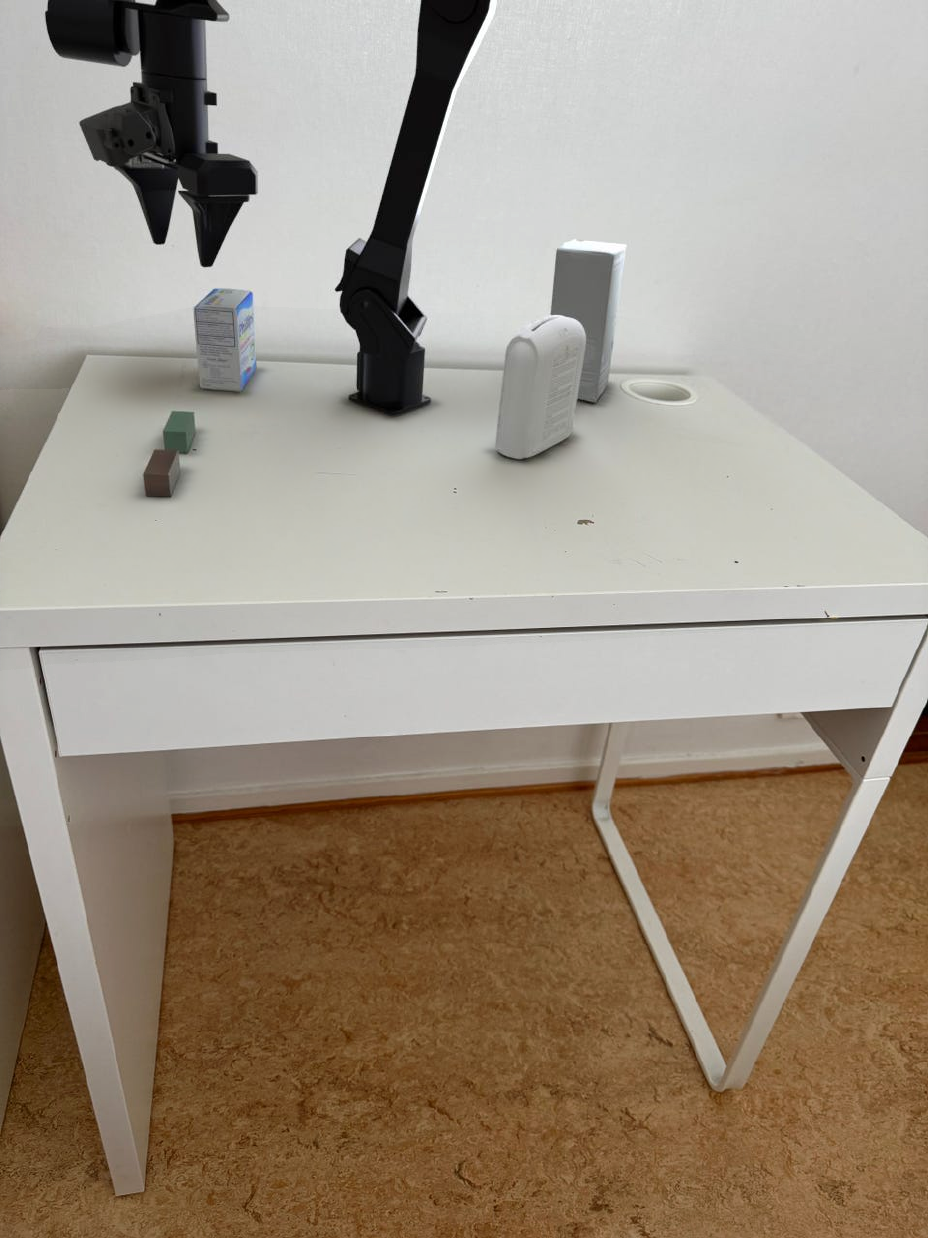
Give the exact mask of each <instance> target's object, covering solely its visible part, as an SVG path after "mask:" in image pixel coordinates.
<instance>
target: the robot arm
mask: <svg viewBox="0 0 928 1238" xmlns="http://www.w3.org/2000/svg"><path fill="white" fill-rule="evenodd" d="M154 3H155V4H152V3H146V2H140V1H139V2H138V1H136V0H47V7H46V8H47V10H45V12H44V18H45V19H44V20H45V25H46V26H45V27H46V31H47V35H48V38H49V42H50V44H51V46H52V48H53V50H54V51H55V53H56V54H57V55H58V56H59V57H61V58H63V59H67V60H75V61H82V62H87V63H88V62H89V63H95V64H102V65H109V66H115V67H122V68H125V67H127V66H129V64H130V63H131V62H132V58H133V56H134V57H135V56H138V55H139V58H140V59H139V60H140V70H141V71H140V74H141V82H140V81H139V82H138V81H132V86H130V88H129V89H130V90H129V92H130V93H129V95H130V101H129V102H127V103H123V104H121V105H117V106H116V105H115V106H112V107H111V108H109V109H105V110H102V111H100V112H98V113H95V114H93V115H91V116H88V117H85V118H83V119H81V120H80V121H79V122H78V123H79V127H80V129H81V131H82V135H83V136H84V139H85V141H86V143H87V146H88V150H89V151H90V154H91V156H92V159H93V160H94V161H96V162H98V161H101V162H103V163H105V164H106V165H107V166H108V167H112V168H114V169H115V170H116V171H118V172H119V173H120V174H121V175H122V177H124V178H125V179H126V180H127V181H128V182H129V183H131V185H132V187H133V189H134V192H135V194H136V197H137V199H138V202H139V206H140V208H141V211H142V213H143V217H144V219H145V222H146V225H147V229H148V232H149V234H150V237H151V241H152V243H153V244H154V245H157V246H158V245H159V246H161V245H165V244H166V240H167V237H168V233H169V229H170V224H171V218H172V213H173V208H174V204H175V199H176V194H177V193H178V194H179V196H180V197H181V198H182V200H184V201H185V203H186V204H187V205H188V206H189V207H190V208H191V212H192V218H193V225H194V232H195V242H196V248H197V255H198V259H199V264H200V266H201V267H202V268H212V267H213V265H214V263H215V261H216V260H217V257H218V255H219V253H220V251H221V248H222V246H223V244H224V242H225V239H226V237H227V235H228V233H229V231H230V229H231V227H232V225H233V223H234V221H235V219H236V217H237V216H238V214H239V212H240V210H241V208H242V207H243V205H244V204H245V203H248V202H250V198H251V196H253V195H254V196H256V195H257V194H258V192H259V182H258V181H259V180H258V178H259V171H258V170H257V169H256V168H255V166H254V164H253V163H251V161H250V160H249V159H246V158H242V157H240V156H236V155H233V154H231V153H219V143H218V142H216V141H213V140H210V139H209V137H210V135H209V106H215V107H216V106H218V94H217V92H214V91H210V90H208V69H207V68H208V66H207V64H208V63H207V29H206V28H207V27H206V25H207V24H206V21H207V22H208V21H209V22H214V23H215V22H217V23H218V22H219V23H220V22H221V23H228V22H229V20H230V14H229V13H228V11H226V10H225V9H224V7H223V6H222V5H221V4H220V3H219V1H218V0H155V2H154ZM497 3H498V0H420V4H419V15H418V23H417V31H416V32H417V33H416V56H415V57H416V58H415V72H414V77H413V80H412V84H411V88H410V92H409V94H408V95H409V96H408V99H407V103H406V106H405V109H404V113H403V118H402V121H401V125H400V128H399V133H398V135H397V139H396V142H395V147H394V150H393V153H392V157H391V161H390V164H389V169H388V172H387V175H386V178H385V183H384V187H383V190H382V194H381V198H380V202H379V205H378V208H377V212H376V216H375V219H374V222H373V223H374V224H373V227H372V230H371V233H370V234H369V237H368V238H367V241H366V240H364V239H362V238H361V237H359V238H357V239H356V240H354V242H352V244H350V246H348V247H347V249H345V253H344V263H343V270H342V271H343V272H342V276H341V279H340V281H339V283H338V284H337V286H336V287H335V288H334V291H335V292H336V293H339V292H341V293H340V296H339V311H340V313H341V315H342V317H343V318H344V320H345V323H347V324H348V325H349V327H350V328H351V329H353V330H354V331H355V334H356V337H357V341H358V344H359V351H358V352H356V382H355V383H356V385H355V388H356V391H357V392H354V393H350V394H348V401H350V402H353V403H356V404H357V405H361V406H364V407H366V408H369V409H372V410H375V411H378V412H380V413H384V414H385V415H388V416H393V417H395V416H399V415H402V414H404V413H407V412H410V411H413V410H415V409H417V408H421V407H423V406H426V405H428V404H431V403H432V397H430V396H427V395H425V394H423V392H424V375H425V359H426V358H425V357H426V347H424V346H421V344H420V343H419V342H417V341H418V339H419V337H420V336H421V334H422V332H423V331H424V328H425V325H426V323H427V321H428V316H427V315H426V314H425V313H424V311H423V310H422V309H421V308H420V307H419V306H418V305H417V303H416V302H415V301H414V300H413V298H412V297H411V296H410V295H409V290H410V289H409V288H410V280H411V271H412V256H413V241H414V236H415V232H416V228H417V226H418V221H419V218H420V215H421V211H422V209H423V205H424V202H425V198H426V195H427V191H428V188H429V186H430V181H431V178H432V175H433V171H434V168H435V165H436V161H437V158H438V155H439V151H440V148H441V144H442V141H443V138H444V134H445V131H446V129H447V124H448V122H449V118H450V115H451V111H452V107H453V104H454V101H455V97H456V96H457V95H456V94H457V91H458V88H459V86H460V84H461V83H462V80H463V78H464V76H465V74H466V72H467V71H468V69H469V67H470V65H471V63H472V61H473V59H474V57H475V55H476V54H477V51H478V50H479V47H480V46H481V43H482V41H483V39H484V37H485V35H486V33H487V31H488V29H489V26H490V25H491V22H492V20H493V19H494V15H495V13H496V11H497V10H496V9H497ZM178 183H180V185H181V187H182V189H183V190H177V187H178Z"/></svg>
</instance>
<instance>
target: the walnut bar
mask: <svg viewBox="0 0 928 1238" xmlns="http://www.w3.org/2000/svg"><path fill="white" fill-rule="evenodd" d="M147 462H148V463H147V465H146V467H145V469H144V471H143V473H142V477H143V484H144V485H143V486H144V493H145V496H146V497H164V498H165V497H166V498H167V497H169V498H170V497H171V496H172V495H173V492H174V489H175V486H176V484H177V480H178V478H179V476H180V473H181V464H180V454H179V452H178V450H165V449H159V448H157V449H156V448H155V449H153V451H152V453H151V455H150V458H149V460H148V461H147Z"/></svg>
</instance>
